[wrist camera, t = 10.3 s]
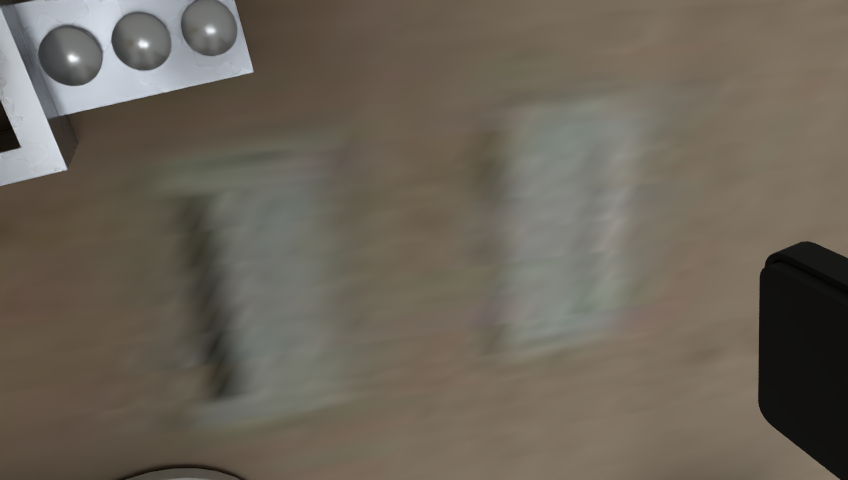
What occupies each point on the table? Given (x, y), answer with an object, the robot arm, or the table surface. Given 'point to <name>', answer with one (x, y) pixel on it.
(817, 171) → the table surface
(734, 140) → the table surface
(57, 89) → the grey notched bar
